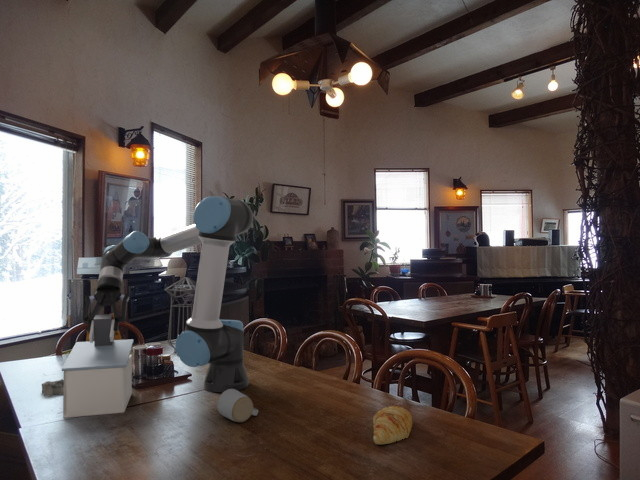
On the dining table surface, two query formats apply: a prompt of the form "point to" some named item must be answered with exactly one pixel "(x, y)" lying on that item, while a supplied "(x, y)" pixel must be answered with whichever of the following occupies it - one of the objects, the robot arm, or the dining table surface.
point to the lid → (99, 349)
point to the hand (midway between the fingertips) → (101, 339)
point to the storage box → (97, 391)
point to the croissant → (391, 425)
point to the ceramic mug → (235, 406)
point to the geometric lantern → (180, 304)
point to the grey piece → (53, 387)
